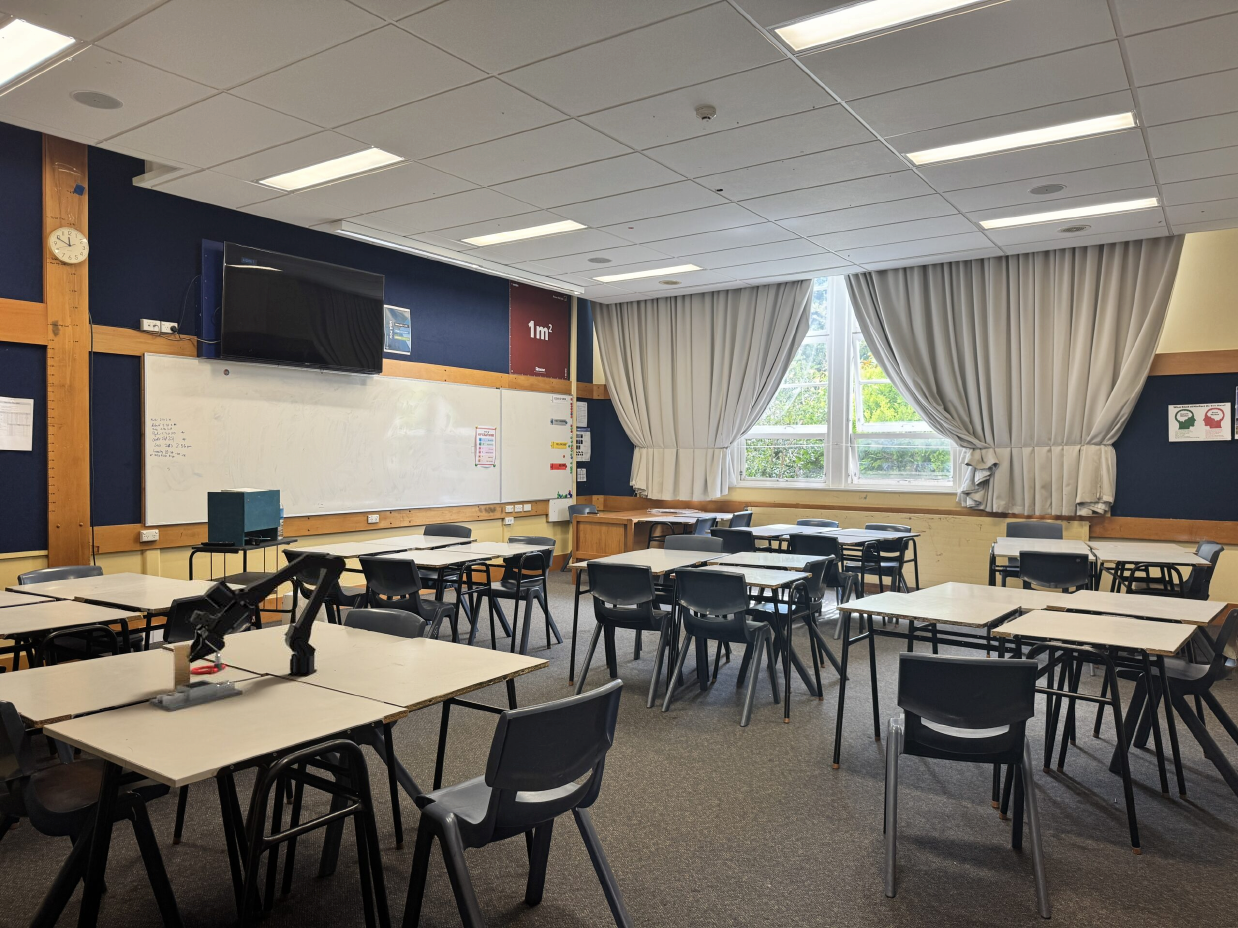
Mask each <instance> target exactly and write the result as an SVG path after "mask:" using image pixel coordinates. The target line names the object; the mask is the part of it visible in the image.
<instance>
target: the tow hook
mask: <svg viewBox="0 0 1238 928" xmlns="http://www.w3.org/2000/svg"><path fill="white" fill-rule="evenodd" d="M216 650H217V649H216ZM217 651H218V652H217V653H215V655H214V663H213V664H210V665H202V666H197V667H196V666H195V667H194V668H190V674H192V675H202V674H208V673H209V674H212V675H213V674H215V673H219V672H221V671H222V670H225V669H226V668H227V665H225V664H223V662H222V661H221V660H222V657H221V656H222V655H221V653H220V652H221V651H219V650H217Z"/></svg>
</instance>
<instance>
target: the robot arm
mask: <svg viewBox="0 0 1238 928" xmlns="http://www.w3.org/2000/svg"><path fill="white" fill-rule="evenodd" d="M309 567H315V568H319V569H320V571H319V578H318V582H317V583H316V586H315V587H314V589H313V591H312V593H311V595H310V597H309V599H308V602H307V603H306V605H305V608H304V609H303V610H302V614H301V615H300V617H299V619H298V621H297V622H295V624H293V623H291V622H290V623H289V626H288V628H287V631H286V632H285V633H283V634H284V636H285V638H284V644H285V645H286V647H288V648H289V649H290V650H291V651H292V654H291V657H290V659H289V673H288V676H298V677H300V676H302V677H308V676H309V675H312V674H314V673H315V672H317V671H318V669H316V668H315V661H316V660H315V657H316V655H315V653H316V650H317V649H316V648H315V647H314V646H313V645H312V644H311V643H309V642H310V639H311V635H312V628H313V625H314V622H315V620H316V618H317V617H318V614H319V612H320V611H321V608H322V606H323V604H324V602H325V600H326V597H327V596H328V594H329V592H330V590H331V588H332V586H333V584H335V582H336V581H337V580H338V579H340V577H341V575H343V573H344V571H345V570H346V567H347V563H346V560H345V558H344V557H342V556H340V555H337V554H330V555H327V556H325V555H320V554H313V553H310V552H304V553H303V554H302V555H300V556H299V557H298V558H296V559H295V560H293V561H292V562H290V563H288V564H286V565H285V566H283V567H281V568H280V569H279V570H277V571H276V572H274V573H272V574H271V575H269V576H267V577H265V578H264V577H263V578H260V579H258V580H256V581H253V582H250V583H249V584H247V585H245V586H244V587H243V588H241V587H240V588H237V589H232V587H231V586H230V585H228V584H227V582H226V581H224V580H223V579H220V580H219V581H218V582H216V583H214V584H213V585H211V586H210V587H208V589H207V590H206V591H205V592H204V593H203V597H204V598H205V599H207V600H208V601H209V602H210V604H212V605H213V606H215V607H216V608H217V609H220V608H223V610H222V611H221V612H220V613H216V614H214V616H213V615H210V613H209V612H206V611H199V610H194V611H193V613H192V615H191V616H190V617H191V618H190V619H189V621H191V623H193V624H194V625H195V624H196V625H197V624H198V625H197V626H196V627H195V628H196V629H195V630H194V632H195V633H194V636H195V637H194V639H193V641H192V642H191V644H189V645H190V659H189V660H188V661H189V662H190V664H193V663H195V662H197V661H200V660H201V659H204V658H206V657H209V656H211V655H213V654H216V653H217V652H218V651H217V650H219V651H220V652H221V651H222V650H224V648H226V641H225V636H227V635H228V633H229V632H231V631H234V630H235V629H236V626H237V624H239V623H240V622H241V621H242V620H243V619H244V618H245V617H246V616H247V615H248V614H249V615H251V616H252V617H256V608H257V607H255V605H259V604H261V603H262V602H264V601H265V600H267V598H268V597H269V596H270V595H271V594H272V593H273V592H274V591H276V589H277V588H279V586H281V585H283V584H284V583H286V582H287V581H289V580H291V579H292V578H294V577H295V576H297V575H299V574H300V573H301V572H303V571H304V570H306V569H308V568H309ZM235 597H237V598H238V599H239V600H241V601H239V600H237V599H236V598H235ZM246 601H247V602H248V603H249V604H252V605H254V606H250V605H249V604H248V603H247V602H246ZM216 649H217V650H216Z"/></svg>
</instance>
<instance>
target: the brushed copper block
mask: <svg viewBox="0 0 1238 928" xmlns="http://www.w3.org/2000/svg"><path fill="white" fill-rule="evenodd" d="M190 645H191V644H189V643H188V644H187V643H186V644H178V645H173V674H172V675H173V677H172V681H173V684H172V685H173V687H172V689H173V690H172V691H173V692H177V685H182V684H186V683H191V672H190V670H191V663H190V662H189V661H188V660H189V659H190V658H191V655H190Z"/></svg>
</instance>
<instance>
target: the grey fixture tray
mask: <svg viewBox="0 0 1238 928" xmlns="http://www.w3.org/2000/svg"><path fill="white" fill-rule="evenodd" d="M235 683H236V682H235V681H231V682H230V681H229V679H226V680H222V681H218V682H213V681H210V680H206V679H200V680H197V681H192V682H191V681H190V683H186V684H182V685H177V692H174V691H173V692H169V693H165V694H159V695H157V696H156V698H152V699H149V700H148V701H149V705H153V706H155V707H158V708H160V709H164V710H166V711H169V712H175V711H179V710H183V709H186V708H190V707H194V706H198V705H203V704H207V703H210V702H215V701H220V700H224V699H228V698H232V697H236V696H240V695H243V693H244V691H243V690H241V689H238V688H236V684H235Z"/></svg>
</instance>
